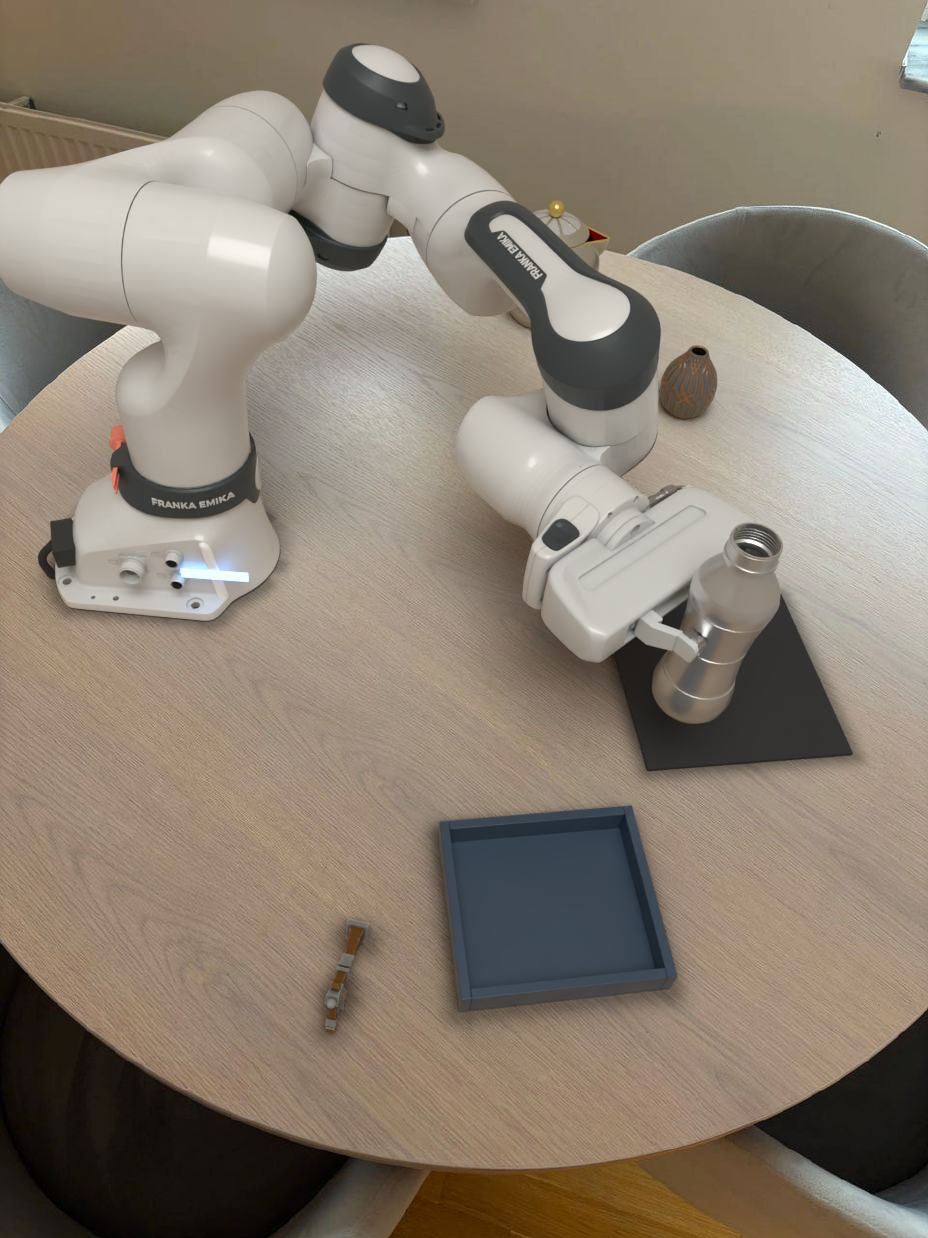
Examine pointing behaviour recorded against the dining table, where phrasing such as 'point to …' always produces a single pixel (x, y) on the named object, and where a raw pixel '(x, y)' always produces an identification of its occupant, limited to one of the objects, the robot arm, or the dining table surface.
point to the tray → (551, 908)
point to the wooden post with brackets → (344, 971)
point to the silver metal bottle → (721, 624)
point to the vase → (689, 383)
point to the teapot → (570, 241)
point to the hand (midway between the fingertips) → (728, 630)
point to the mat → (738, 705)
